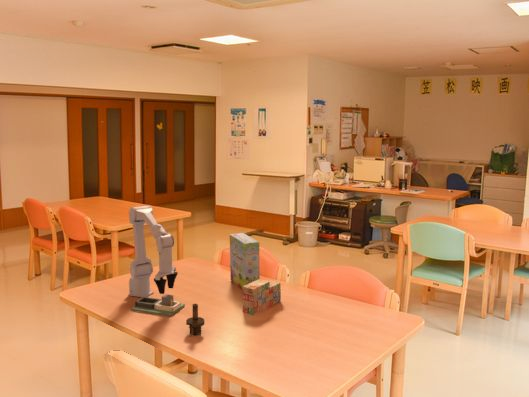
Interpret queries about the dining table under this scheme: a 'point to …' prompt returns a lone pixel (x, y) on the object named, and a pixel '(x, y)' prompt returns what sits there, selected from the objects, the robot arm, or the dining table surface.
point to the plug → (167, 300)
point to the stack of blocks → (260, 295)
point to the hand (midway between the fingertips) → (166, 290)
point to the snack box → (244, 259)
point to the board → (156, 306)
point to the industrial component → (195, 321)
